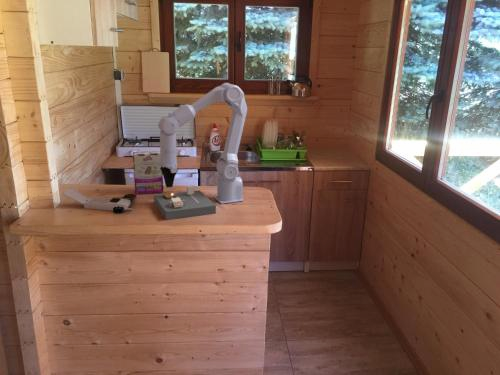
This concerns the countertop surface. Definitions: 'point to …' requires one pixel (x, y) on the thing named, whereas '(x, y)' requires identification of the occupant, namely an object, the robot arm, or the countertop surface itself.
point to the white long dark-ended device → (97, 201)
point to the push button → (169, 195)
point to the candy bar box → (147, 172)
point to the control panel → (185, 205)
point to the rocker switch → (177, 202)
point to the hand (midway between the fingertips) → (169, 186)
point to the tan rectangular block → (190, 190)
